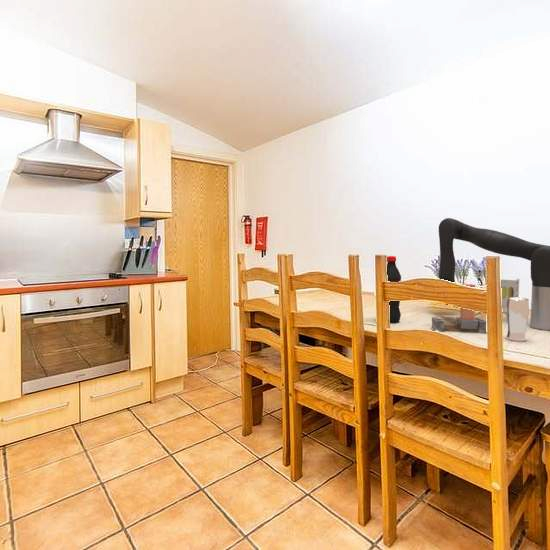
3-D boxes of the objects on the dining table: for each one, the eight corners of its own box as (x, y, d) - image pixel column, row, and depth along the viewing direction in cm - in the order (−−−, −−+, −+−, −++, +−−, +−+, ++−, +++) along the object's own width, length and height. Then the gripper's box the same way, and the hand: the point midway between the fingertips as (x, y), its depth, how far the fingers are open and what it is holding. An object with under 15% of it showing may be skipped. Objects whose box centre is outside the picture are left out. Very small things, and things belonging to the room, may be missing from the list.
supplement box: (492, 312, 179) (493, 278, 178) (496, 309, 186) (497, 277, 184) (515, 314, 173) (516, 279, 171) (518, 311, 179) (519, 278, 178)
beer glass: (504, 340, 130) (506, 299, 128) (504, 335, 136) (506, 296, 134) (527, 342, 126) (529, 300, 125) (527, 338, 132) (529, 297, 130)
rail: (480, 328, 146) (481, 316, 146) (487, 333, 140) (488, 320, 139) (431, 327, 150) (431, 315, 149) (436, 332, 143) (436, 319, 143)
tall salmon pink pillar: (472, 325, 147) (473, 283, 145) (477, 329, 140) (479, 285, 139) (456, 324, 148) (457, 283, 146) (461, 328, 141) (462, 285, 140)
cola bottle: (377, 321, 164) (377, 256, 161) (387, 318, 169) (388, 255, 166) (394, 324, 157) (394, 256, 154) (404, 321, 163) (405, 255, 160)
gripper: (438, 289, 159) (449, 294, 143) (473, 289, 157) (487, 294, 141) (438, 305, 160) (448, 313, 144) (472, 306, 157) (487, 313, 141)
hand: (468, 304), depth 142 cm, fingers open, 8 cm apart
